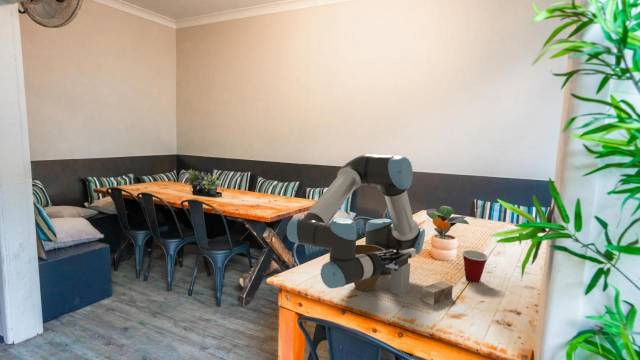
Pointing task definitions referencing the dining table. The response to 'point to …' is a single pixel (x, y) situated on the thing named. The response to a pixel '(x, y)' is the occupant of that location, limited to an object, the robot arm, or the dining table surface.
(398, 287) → the grey block
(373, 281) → the plant pot
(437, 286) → the walnut block
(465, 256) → the plastic cup
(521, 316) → the dining table surface
